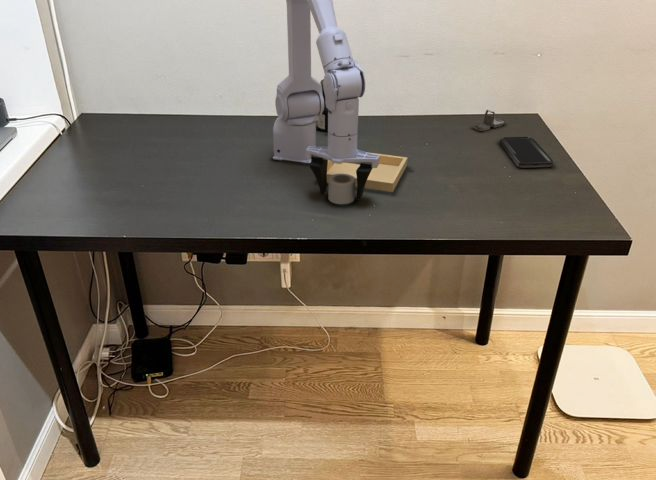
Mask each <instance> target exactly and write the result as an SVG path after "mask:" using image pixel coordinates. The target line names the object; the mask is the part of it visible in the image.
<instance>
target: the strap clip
mask: <svg viewBox="0 0 656 480" xmlns="http://www.w3.org/2000/svg"><path fill="white" fill-rule="evenodd" d="M488 113H491V114H493V115H489V114H488ZM503 125H505V122H504V121H503V120H502V119H498V118H496V112H495V111H492V110H490V109H486V110H485V113H484V117H483V122H482V123H480V124H477V125H474V126H473V127H472V129H474V130H476V131H478V132H485V131H488V130H491V128H493V129H494V128H499V127H502V126H503Z"/></svg>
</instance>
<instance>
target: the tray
mask: <svg viewBox="0 0 656 480" xmlns="http://www.w3.org/2000/svg"><path fill="white" fill-rule="evenodd" d="M366 152H367V151H366ZM367 153H369V152H367ZM370 153H371V154H375V155H380V158H379V165H378V167H377V168H372V170H371V172H370V174H369V176H368V179H367V181H366V184H365V187H364V189H365V190H366V189H367V190H373V191H379V192H380V191H381V192H387V193H394V191H395V189H396V187H397V185H398V184H399V181H400V179H401V178H402V176H403V174H404V173H405V170H406V169H407V167H408V157H407V156H399V155H391V154H384V153H377V152H370ZM359 166H360V164H352V163H342V164H335V163H332V161H330V160H328V165H327V184H328V179H329V177H330V176H332V175H334V174H340V173H344V174H349V175H352V176H354V177H355V188H357V175H356V170H357V169H358V167H359Z"/></svg>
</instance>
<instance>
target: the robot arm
mask: <svg viewBox="0 0 656 480" xmlns="http://www.w3.org/2000/svg"><path fill="white" fill-rule="evenodd" d="M285 3H286V26H287V27H286V28H287V29H286V30H287V57H288V58H287V60H288V63H287V64H288V75H287V76H286V77H285V78H284V79H283V80H281V81H280V83H278V84H277V86H276V96H275V100H274V101H275V110H276V115H277V118H276V119H275V121H274V124H273V127H272V137H273V138H272V140H273V141H272V144H273V156H272V160H274V161H282V160H284V161H290V162H291V161H292V162H300V163H304V164H305V163H306V164H309V169H310V170H311V171H312V173H313V175H314V177H315V179H316V182H317V185H318V188H319V193H320V194H321V195H325V193H326V192H327V189H328V183H327V165H328V160H330V161H332V163H335V164H342V163H352V164H360V166H359V167H358V169H357V170H356V175H357V187H356V193H355V199H356V200H358V201H359V200H361V199H362V197H363V195H364V190H365V188H364V187H365V184H366V181H367V179H368V176H369V174H370V172H371V170H372V168H377V167H378V165H379V158H380V155H375V154H371V153H372V152H368V153H367V151H364V150H362V149H361V150H360V149H358V135H359V108H360V107H359V106H360V98H363V96H364V95H365V92H366V78H365V74H364V70H363V68H362V66H360V65H359V63H358V61H357V60H354V57H353V54H352V50H351V47H350V44H349V40H348V37H347V33H346V31H344V30H343V29H341V28H339V27H338V22H337V17H336V12H335V6H334V1H333V0H286V1H285ZM311 15H312V18H313V21H314V23H315V25H316V29H317V31H318V33H319V35H318V37H317V38H316V41H315V44H316V48H317V52H318V55H319V58H320V63H321V65H322V69H323V72H324V73H323V74H324V75H323V79H324V81H323V88H324V93H325V104H326V108H328V133H327V146H317V128H316V121H317V120H318V118H319V116H321V114H322V112H323V110H324V98H323V94H322V86H321V84H320V81H318V79H316V78H315V77H313V76H312V33H311V32H312V31H311V30H312V29H311V27H312V26H311V25H312V24H311V19H312V18H311Z"/></svg>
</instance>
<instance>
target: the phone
mask: <svg viewBox="0 0 656 480" xmlns="http://www.w3.org/2000/svg"><path fill="white" fill-rule="evenodd" d="M499 145H500V146H501V147H502V148H503V150H504V151H505V153H506V154H507V155H508V156H509V158H510V159H511V160H512V162H513V163H514V164H515V166H516V167H518V168H520V169H534V168H536V169H539V168H540V169H541V168H551V167H553V162H554V161H553V159H552V158H551V157H550V155H549V154H548V153H546V151H545V150H544V149H543V148H542V147H541V146H540V145H539V143H538V142H537V141H536V140H535V139H534V138H533V137H532V136H509V137H508V136H507V137H500V139H499Z"/></svg>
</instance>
